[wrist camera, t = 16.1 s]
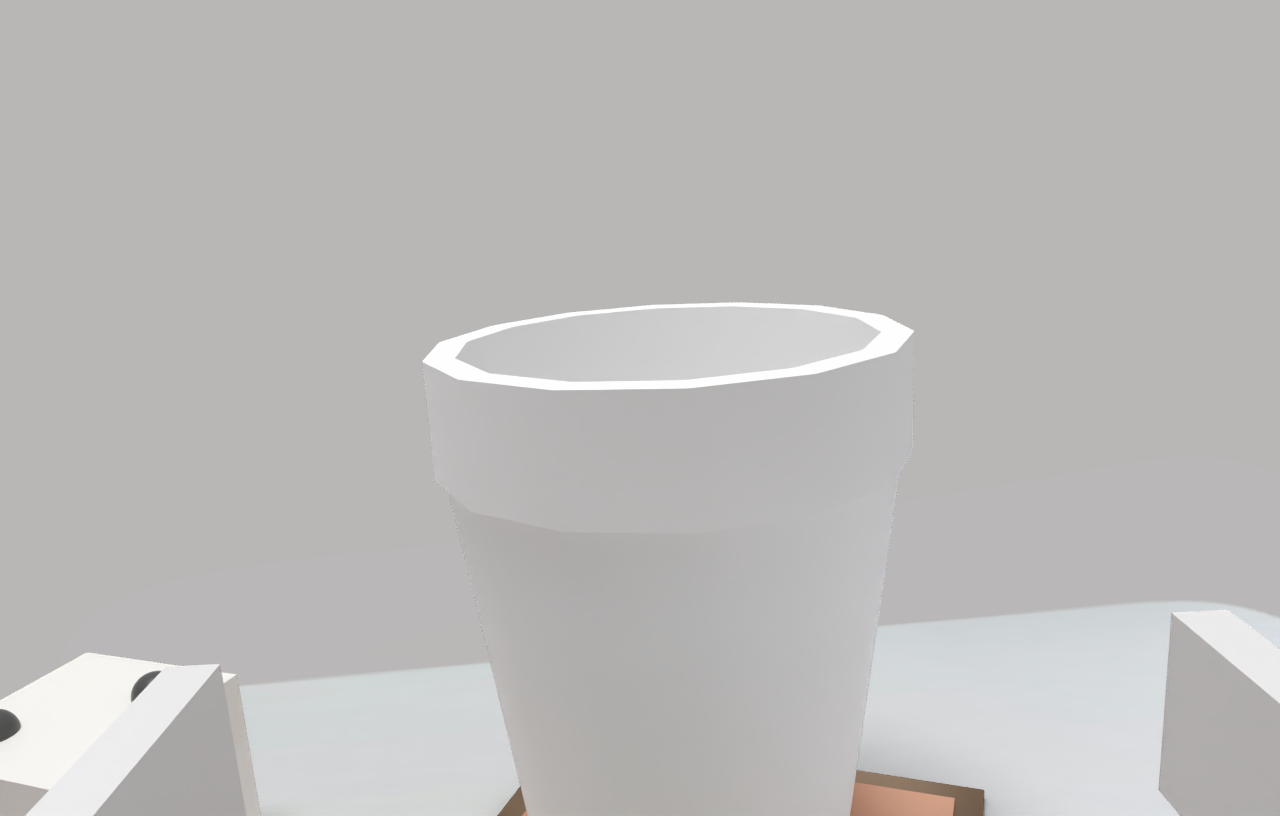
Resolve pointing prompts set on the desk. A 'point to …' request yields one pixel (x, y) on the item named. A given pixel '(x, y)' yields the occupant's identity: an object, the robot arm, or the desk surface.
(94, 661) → the die
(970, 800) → the color swatch strip
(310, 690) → the desk surface
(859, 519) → the foam cup
